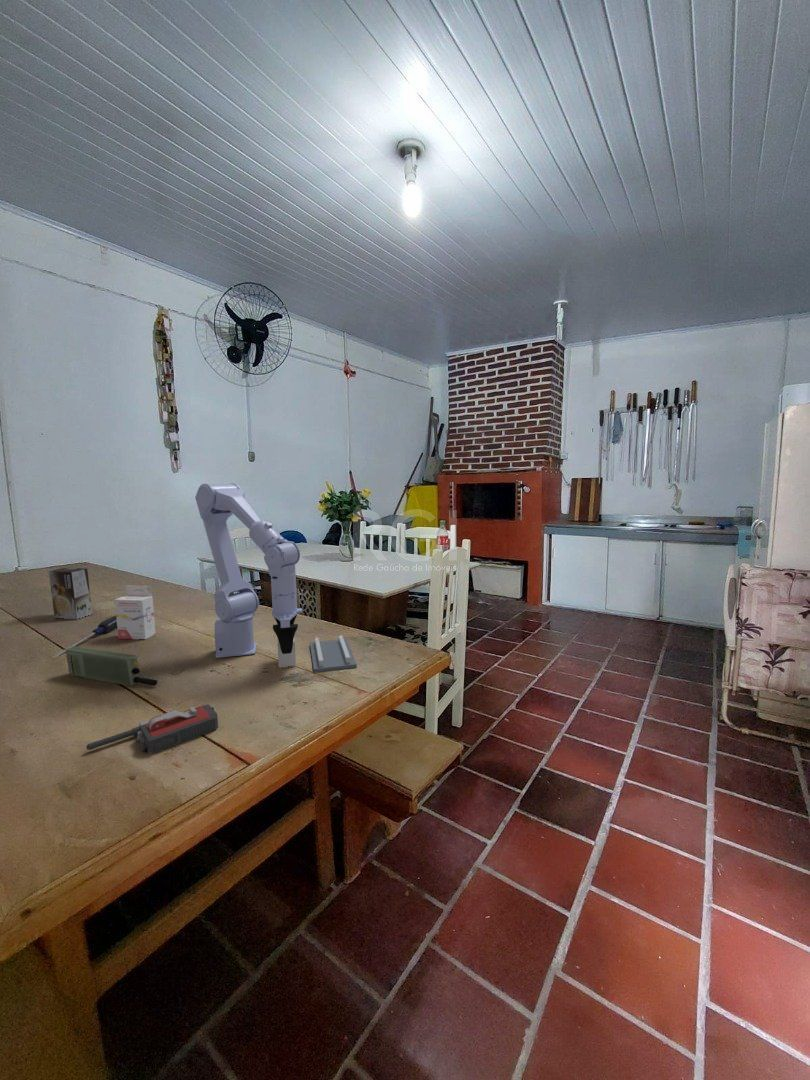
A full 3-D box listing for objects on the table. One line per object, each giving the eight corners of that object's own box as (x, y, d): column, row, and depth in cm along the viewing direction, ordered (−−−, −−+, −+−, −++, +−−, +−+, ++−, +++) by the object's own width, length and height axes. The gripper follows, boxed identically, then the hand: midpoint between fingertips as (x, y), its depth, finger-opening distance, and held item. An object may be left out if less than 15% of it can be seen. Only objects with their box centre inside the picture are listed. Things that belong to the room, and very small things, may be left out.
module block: (278, 667, 107) (277, 643, 106) (278, 661, 111) (277, 637, 110) (295, 666, 108) (294, 641, 107) (295, 659, 112) (294, 635, 111)
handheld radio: (81, 670, 107) (162, 684, 99) (67, 677, 104) (150, 692, 96) (77, 644, 106) (159, 656, 98) (62, 650, 103) (146, 662, 95)
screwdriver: (60, 659, 114) (58, 645, 113) (46, 659, 114) (44, 645, 113) (125, 626, 140) (124, 614, 139) (114, 626, 140) (113, 614, 139)
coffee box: (93, 614, 152) (88, 567, 150) (77, 620, 145) (71, 571, 143) (70, 613, 153) (65, 567, 151) (53, 618, 147) (47, 571, 145)
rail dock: (313, 672, 104) (313, 662, 104) (309, 645, 121) (309, 637, 121) (356, 667, 107) (356, 658, 106) (346, 641, 124) (346, 633, 124)
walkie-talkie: (209, 710, 88) (86, 752, 75) (208, 689, 87) (83, 727, 74) (226, 728, 81) (94, 777, 68) (224, 706, 81) (91, 751, 68)
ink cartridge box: (117, 639, 127) (112, 589, 125) (129, 633, 132) (124, 584, 130) (145, 640, 126) (140, 589, 124) (156, 634, 131) (152, 585, 129)
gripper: (302, 599, 101) (304, 656, 103) (300, 585, 115) (302, 635, 117) (269, 601, 99) (272, 660, 101) (271, 587, 113) (274, 638, 115)
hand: (286, 647), depth 109 cm, fingers open, 7 cm apart
